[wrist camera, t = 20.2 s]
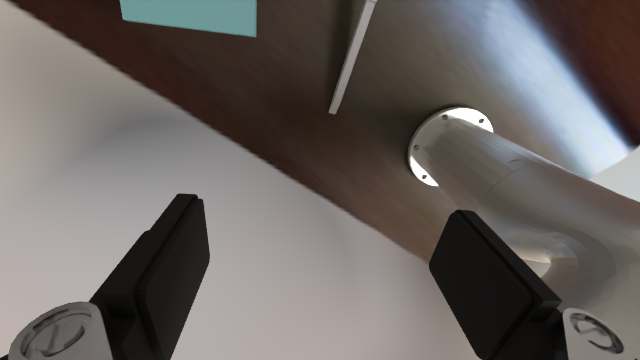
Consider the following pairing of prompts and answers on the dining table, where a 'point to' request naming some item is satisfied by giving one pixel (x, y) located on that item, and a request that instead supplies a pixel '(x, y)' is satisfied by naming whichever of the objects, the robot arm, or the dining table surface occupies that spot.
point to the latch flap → (195, 14)
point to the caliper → (352, 53)
